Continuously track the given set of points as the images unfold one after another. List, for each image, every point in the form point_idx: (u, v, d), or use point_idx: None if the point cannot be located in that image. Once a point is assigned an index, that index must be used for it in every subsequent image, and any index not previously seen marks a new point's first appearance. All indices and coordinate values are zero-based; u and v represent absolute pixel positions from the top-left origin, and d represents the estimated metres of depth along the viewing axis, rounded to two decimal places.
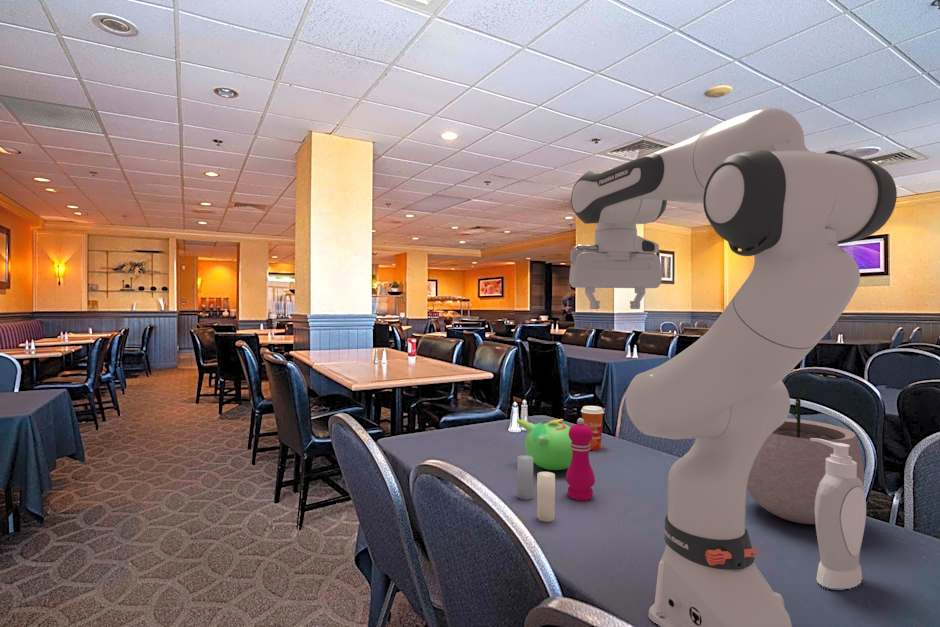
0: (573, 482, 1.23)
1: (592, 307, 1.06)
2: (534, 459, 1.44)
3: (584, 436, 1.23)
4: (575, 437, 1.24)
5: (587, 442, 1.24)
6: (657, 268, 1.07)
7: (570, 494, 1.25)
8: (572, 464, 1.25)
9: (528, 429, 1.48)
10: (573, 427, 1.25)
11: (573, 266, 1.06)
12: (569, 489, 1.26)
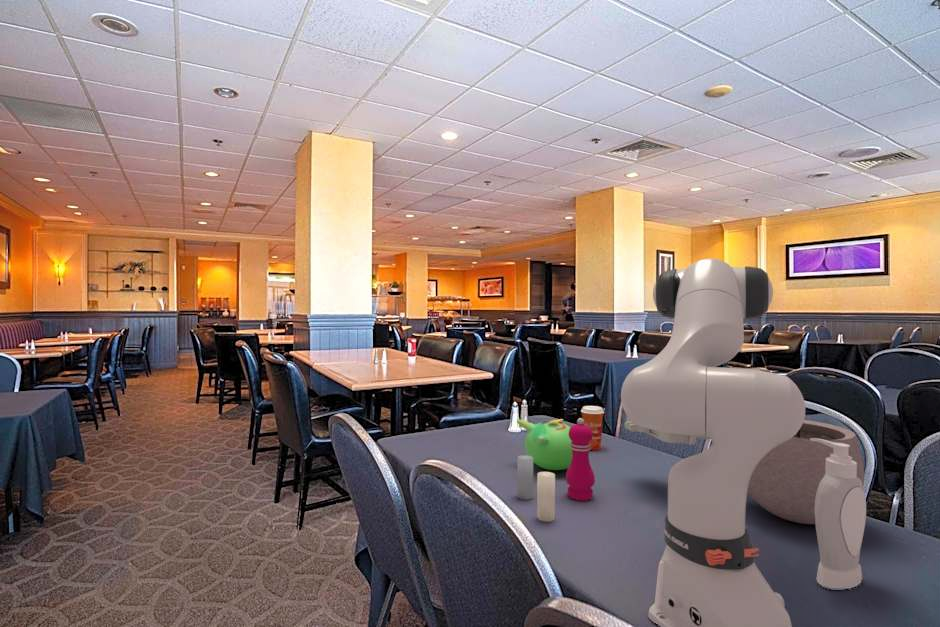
0: (573, 482, 1.23)
1: None
2: (534, 459, 1.44)
3: (584, 436, 1.23)
4: (575, 437, 1.24)
5: (587, 442, 1.24)
6: None
7: (570, 494, 1.25)
8: (572, 464, 1.25)
9: (528, 429, 1.48)
10: (573, 427, 1.25)
11: None
12: (569, 489, 1.26)
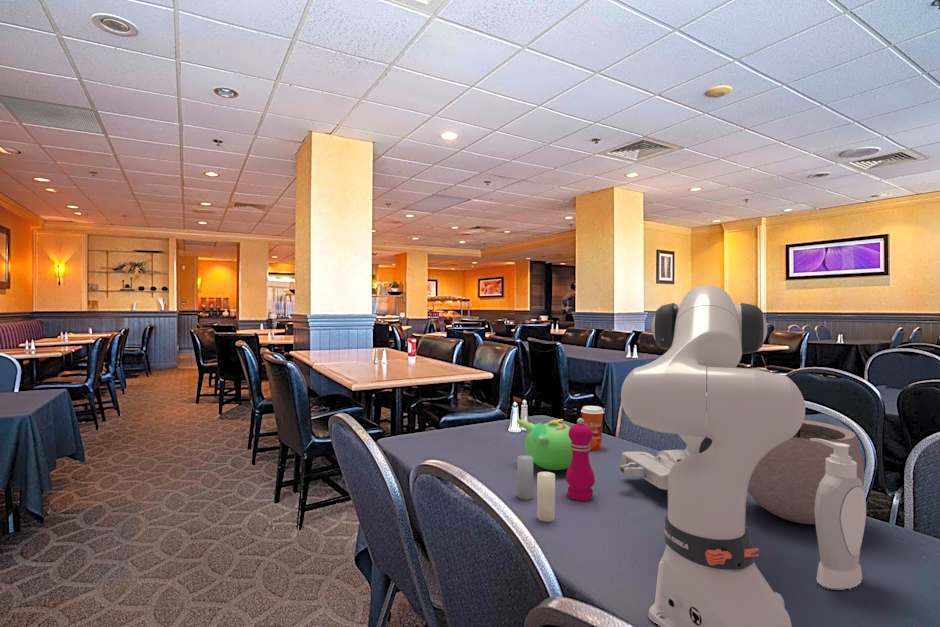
0: (573, 482, 1.23)
1: None
2: (534, 459, 1.44)
3: (584, 436, 1.23)
4: (575, 437, 1.24)
5: (587, 442, 1.24)
6: None
7: (570, 494, 1.25)
8: (572, 464, 1.25)
9: (528, 429, 1.48)
10: (573, 427, 1.25)
11: None
12: (569, 489, 1.26)
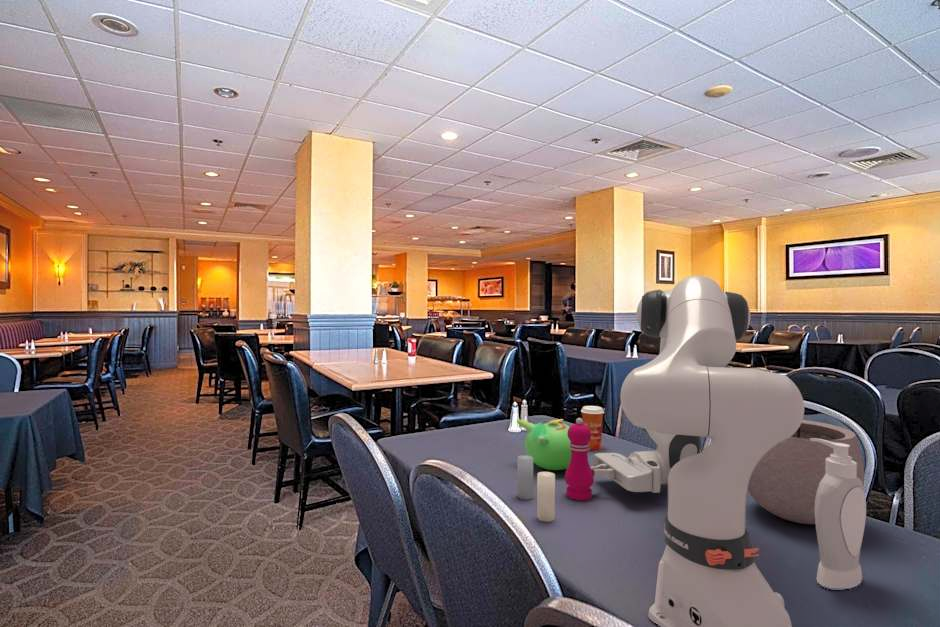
0: (572, 482, 1.23)
1: None
2: (534, 459, 1.44)
3: (583, 436, 1.23)
4: (574, 437, 1.24)
5: (586, 442, 1.24)
6: (641, 472, 1.20)
7: (569, 494, 1.25)
8: (571, 464, 1.25)
9: (528, 429, 1.48)
10: (572, 427, 1.25)
11: None
12: (568, 489, 1.26)
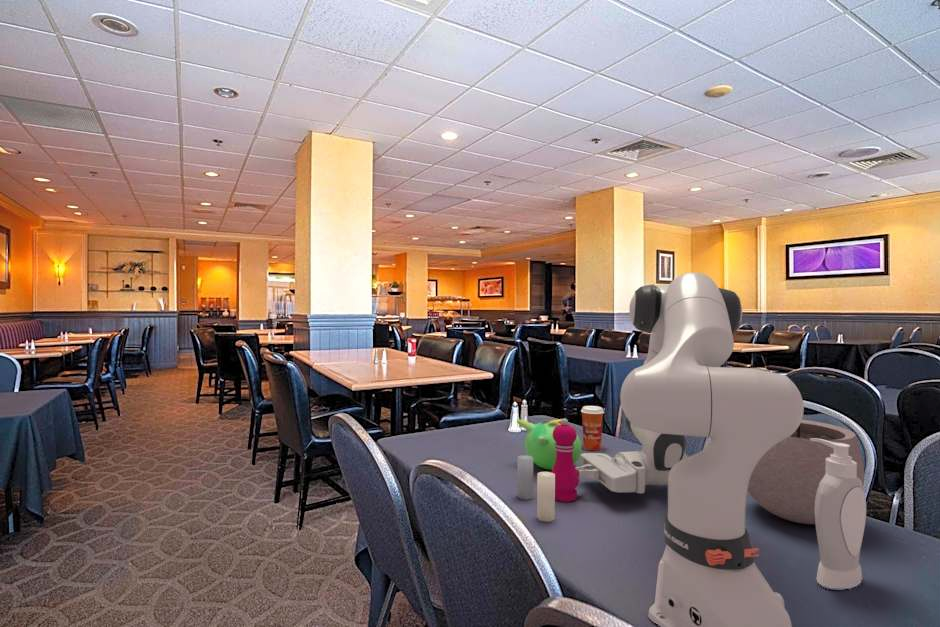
0: (559, 484, 1.22)
1: None
2: (534, 459, 1.44)
3: (569, 436, 1.22)
4: (560, 438, 1.23)
5: (572, 442, 1.24)
6: (625, 473, 1.19)
7: (555, 496, 1.24)
8: (556, 466, 1.24)
9: (528, 429, 1.48)
10: (558, 428, 1.24)
11: None
12: None
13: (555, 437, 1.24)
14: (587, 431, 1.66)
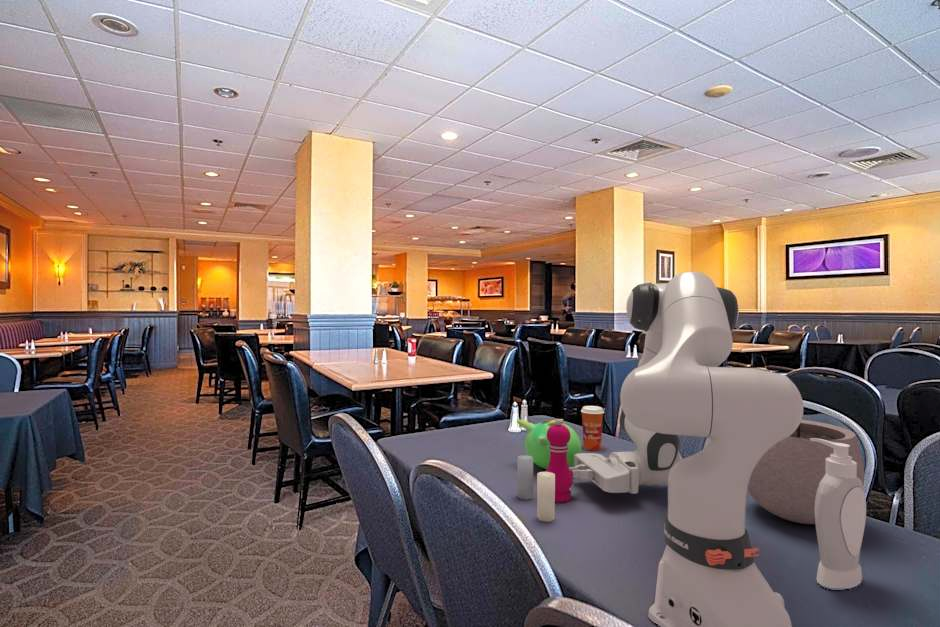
0: None
1: None
2: (534, 459, 1.44)
3: (564, 437, 1.22)
4: (554, 438, 1.22)
5: (566, 443, 1.23)
6: (619, 473, 1.19)
7: None
8: (550, 466, 1.24)
9: (528, 429, 1.48)
10: (552, 428, 1.24)
11: None
12: None
13: (549, 438, 1.23)
14: (587, 431, 1.66)
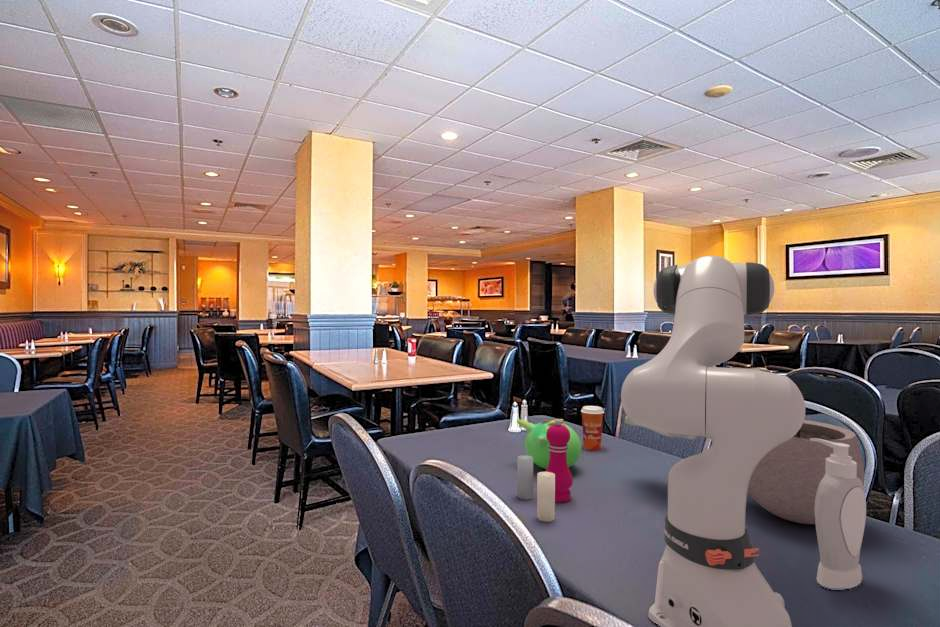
0: None
1: None
2: (534, 459, 1.44)
3: (564, 437, 1.22)
4: (554, 438, 1.22)
5: (566, 443, 1.23)
6: None
7: None
8: (550, 466, 1.24)
9: (528, 429, 1.48)
10: (551, 428, 1.24)
11: None
12: None
13: (549, 438, 1.23)
14: (587, 431, 1.66)
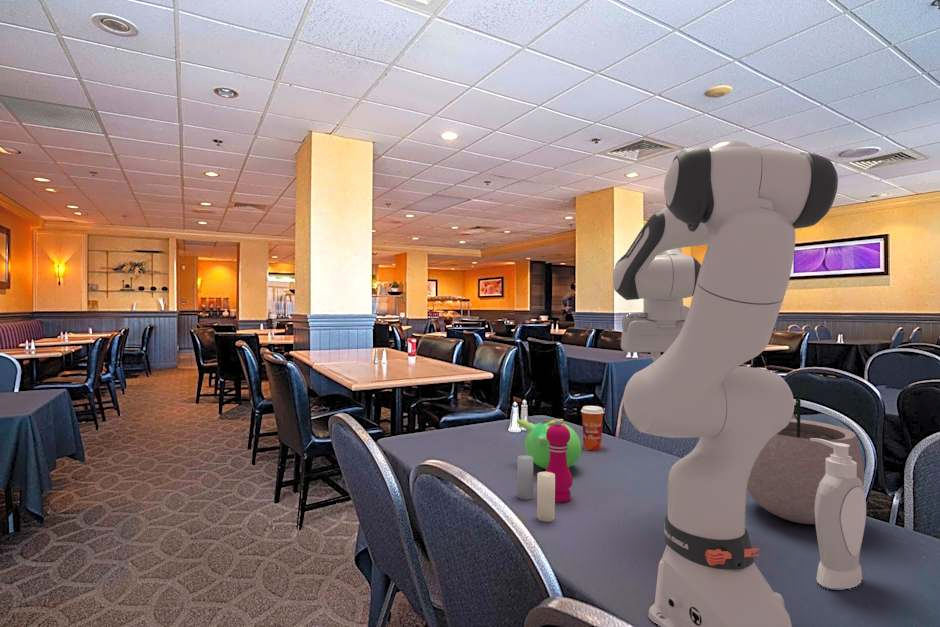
0: None
1: None
2: (534, 459, 1.44)
3: (564, 437, 1.22)
4: (554, 438, 1.22)
5: (566, 443, 1.23)
6: None
7: None
8: (550, 466, 1.24)
9: (528, 429, 1.48)
10: (551, 428, 1.24)
11: (624, 332, 1.16)
12: None
13: (549, 438, 1.23)
14: (587, 431, 1.66)
